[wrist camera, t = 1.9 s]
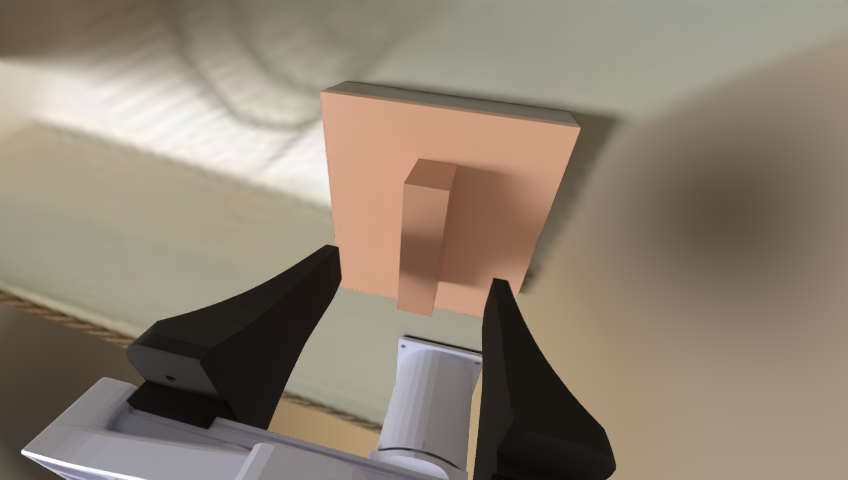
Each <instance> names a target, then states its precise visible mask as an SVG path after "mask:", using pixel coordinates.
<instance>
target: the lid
mask: <svg viewBox="0 0 848 480" xmlns="http://www.w3.org/2000/svg"><path fill="white" fill-rule="evenodd" d="M320 98H321V108H322V118H323V127H324V137H325V146H326V156H327V165H328V175H329V184H330V194H331V203H332V213H333V222H334V232H335V241H336V246H337V247H339V254H340V264H341V274H342V280H341V282H340V287H343V288H348V289H352V290H357V291H362V292H366V293H371V294H376V295H380V296H385V297H390V298H395V299H398V304H397V309H399V310H403V311H408V312H413V313H417V314H422V315H426V316H431V314H432V310H433V307H437V308H441V309H446V310H451V311H456V312H460V313H465V314H470V315H474V316H479V317H483V315H484V308H485V304H486V301H487V297H488V294H489V291H490V287H491V284H492V281H493V278H498V279H504V280H508V282H509V284H510V287H511V290H512V293H513V295H514V298H515V301H516V298H517V296H518V293H519V290H520V288H521V285H522V283H523V280H524V277H525V275H526V272H527V269H528V267H529V264H530V261H531V259H532V256H533V253H534V251H535V248H536V246H537V243H538V240H539V238H540V235H541V232H542V230H543V227H544V224H545V222H546V219H547V217H548V214H549V211H550V209H551V206H552V203H553V201H554V198H555V195H556V193H557V190H558V187H559V185H560V182H561V180H562V177H563V174H564V172H565V169H566V166H567V164H568V161H569V158H570V156H571V153H572V150H573V148H574V145H575V143H576V140H577V137H578V135H579V132H580V129H581V127H580V126H579V125H578V124H572V123H565V122H558V121H551V120H543V119H536V118H529V117H522V116H515V115H507V114H500V113H493V112H486V111H479V110H471V109H464V108H457V107H450V106H443V105H435V104H428V103H421V102H414V101H407V100H399V99H392V98H385V97H378V96H371V95H363V94H356V93H349V92H342V91H335V90H327V89H325V90H322V91H320Z"/></svg>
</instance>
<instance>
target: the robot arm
mask: <svg viewBox="0 0 848 480" xmlns="http://www.w3.org/2000/svg"><path fill="white" fill-rule="evenodd" d="M341 280H342V274H341V264H340V254H339V247H337V246H332V245H325V246H323V247H322V248H320V249H319V250H317V251H316V252H314V253H313V254H311V255H310V256H308V257H307V258H305V259H304V260H302V261H300V262H299V263H297V264H296V265H294V266H293V267H291V268H289V269H288V270H286V271H284V272H282V273H281V274H279V275H277V276H276V277H274V278H272V279H270V280H269V281H267V282H265V283H263V284H261V285H259V286H257V287H255V288H253V289H250V290H248V291H246V292H244V293H242V294H239V295H237V296H234V297H232V298H229V299H227V300H224V301H222V302H219V303H217V304H214V305H211V306H208V307H205V308H202V309H199V310H196V311H193V312H189V313H186V314H182V315H178V316H175V317H171V318H167V319H164V320H160V321H157V322H156V323H155V324H153V325H152V326H151V327H150V328H149V329H148V330H147V331H146V332H144V333H143V334H142V335H141V336H140V337H139V338H138V339H136V340H135V341H134V342H133V343H132V344H131V345H130V346H128V347H127V350H126V355H127V358H128V360H129V361H130V363H131V364H132V365H133V366H134V367H135V369H136V370H137V371H138V372H139V373H140V375H141V376H142V377H143V378H144V379H145V380H146V381H145V382H144V383H143V384H142V385H141V386H140V387H139V388H137V387H135V386H134V385H131V384H129V383H126V382H122V381H118V380H114V379H111V378H107V377H104V378H102V379H100V380H99V381H98V382H97V383H96V384H95V385H94V386H92V387H91V388H90V389H89V390H88V391H87V392H86V393H85V394H84V395H83V396H81V397H80V398H79V399H78V400H77V401H76V402H75V403H74V404H73V405H71V406H70V407H69V408H68V409H67V410H66V411H65V412H64V413H63V414H62V415H60V416H59V417H58V418H57V419H56V420H55V421H54V422H52V423H51V424H50V425H49V426H48V427H47V428H46V429H45V430H44V431H42V432H41V433H40V434H39V435H38V436H37V437H36V438H35V439H34V440H32V441H31V442H30V443H29V444H28V445H27V446H26V447H25V448H24V449H22V452H21V453H22V454H23V455H25V456H27V457H28V458H30V459H32V460H34V461H35V462H37V463H39V464H41V465H43V466H45V467H46V468H48V469H50V470H51V471H53V472H55V473H57V474H59V475H60V476H62V477H64V478H66V479H67V480H467V479H468V472H467V471H466V465H467V451H468V439H469V426H470V413H471V398H472V394H473V391H474V388H475V385H476V383H477V380H478V377H479V374H480V371H481V368H482V395H481V407H480V418H479V429H478V438H477V448H476V457H475V466H474V475H473V480H606V479H607V478H609V477H610V476H611V475H612V474H613V472H614V471H615V470H616V463H615V459H614V455H613V452H612V448H611V446H610V443H609V440H608V437H607V435H606V432H605V430H604V429H603V427H602V426H601V425H600V424H599V423H598V422H597V421H596V420H595V419H594V418H593V417H592V416H591V415H590V414H589V413H588V412H587V410H586V409H585V408H584V407H583V406H582V405H581V404H580V403H579V402H578V400H577V399H576V398H575V397H574V396H573V395H572V394H571V392H570V391H569V390H568V388H567V387H566V386H565V385H564V383H563V382H562V381H561V379H560V378H559V377H558V375H557V374H556V373H555V371H554V370H553V369H552V367H551V366H550V364H549V363H548V361H547V360H546V358H545V357H544V355H543V354H542V352H541V351H540V349H539V347H538V346H537V344H536V342H535V340H534V339H533V337H532V335H531V333H530V331H529V329H528V328H527V325H526V323H525V321H524V319H523V317H522V315H521V312H520V310H519V308H518V306H517V303H516V301H515V298H514V295H513V293H512V290H511V287H510V284H509V282H508V280H504V279H498V278H493V281H492V284H491V287H490V291H489V294H488V297H487V301H486V304H485V308H484V315H483V324H482V354H479V353H475V352H471V351H466V350H462V349H457V348H453V347H448V346H444V345H440V344H435V343H431V342H426V341H422V340H418V339H413V338H409V337H400V339H399V346H398V363H397V379H396V384H395V387H394V390H393V394H392V397H391V401H390V404H389V408H388V411H387V415H386V418H385V421H384V425H383V428H382V432H381V435H380V439H379V442H378V446H377V449H376V451H375V450H370V451H369V454H368V458H365V457H361V456H357V455H354V454H350V453H347V452H343V451H340V450H336V449H332V448H329V447H325V446H321V445H318V444H314V443H310V442H306V441H303V440H299V439H295V438H292V437H289V436H285V435H281V434H278V433H274V432H270V431H267V429H268V427H269V424H270V421H271V419H272V416H273V414H274V411H275V409H276V407H277V404H278V402H279V399H280V397H281V395H282V392H283V390H284V388H285V385H286V383H287V381H288V379H289V377H290V374H291V372H292V370H293V368H294V366H295V364H296V362H297V360H298V357H299V355H300V353H301V351H302V349H303V347H304V345H305V343H306V342H307V340H308V338H309V336H310V335H311V333H312V332H313V330H314V328H315V327H316V325H317V324H318V322H319V320H320V319H321V317H322V316H323V314H324V312H325V311H326V309H327V308H328V306H329V304H330V303H331V301H332V299H333V298H334V296H335V294H336V291H337V289H338V287H339V285H340V282H341Z"/></svg>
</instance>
